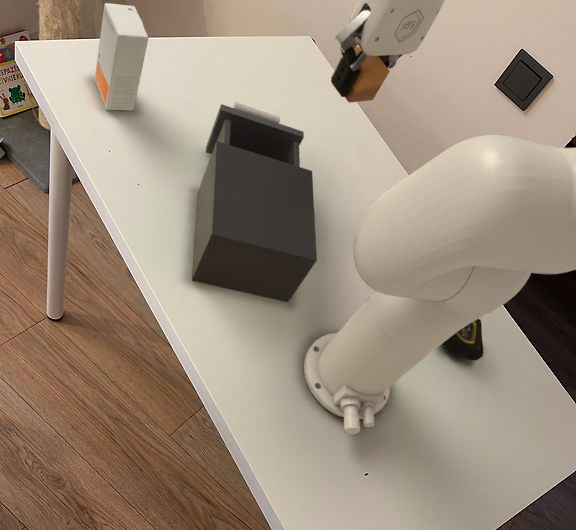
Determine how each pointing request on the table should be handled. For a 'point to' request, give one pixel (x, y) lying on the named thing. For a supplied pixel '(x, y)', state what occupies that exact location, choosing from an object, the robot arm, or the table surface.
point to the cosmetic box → (120, 56)
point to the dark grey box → (255, 133)
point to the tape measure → (466, 342)
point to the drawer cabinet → (254, 224)
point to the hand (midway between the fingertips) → (353, 87)
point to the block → (367, 79)
